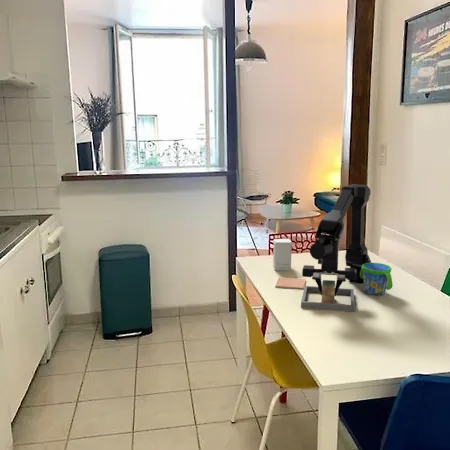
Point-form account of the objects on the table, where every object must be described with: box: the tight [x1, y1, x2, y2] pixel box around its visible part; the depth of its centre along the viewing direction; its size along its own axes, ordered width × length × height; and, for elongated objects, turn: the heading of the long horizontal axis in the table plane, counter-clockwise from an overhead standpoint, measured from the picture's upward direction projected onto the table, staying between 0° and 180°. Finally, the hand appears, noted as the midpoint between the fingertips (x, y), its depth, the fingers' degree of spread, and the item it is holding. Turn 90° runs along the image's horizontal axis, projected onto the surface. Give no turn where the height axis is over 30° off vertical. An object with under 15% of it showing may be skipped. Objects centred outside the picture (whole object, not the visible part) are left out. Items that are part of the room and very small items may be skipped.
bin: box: [300, 285, 356, 313], centre depth 176 cm, size 18×18×2 cm
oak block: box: [321, 279, 336, 304], centre depth 175 cm, size 4×4×7 cm
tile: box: [275, 276, 307, 290], centre depth 195 cm, size 11×11×1 cm
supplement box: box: [272, 238, 292, 271], centre depth 215 cm, size 7×7×13 cm
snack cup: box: [360, 262, 393, 296], centre depth 184 cm, size 16×10×10 cm
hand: (328, 295), depth 176 cm, fingers closed on oak block, 4 cm apart
